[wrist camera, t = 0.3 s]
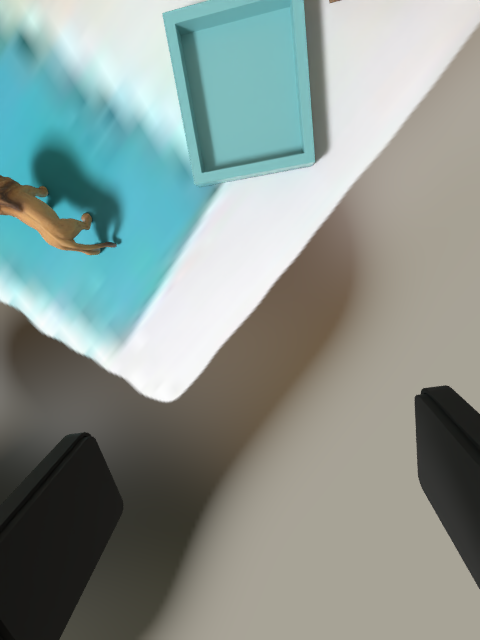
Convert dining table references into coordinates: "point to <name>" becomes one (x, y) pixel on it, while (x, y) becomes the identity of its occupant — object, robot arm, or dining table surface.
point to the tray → (242, 87)
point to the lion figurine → (44, 217)
